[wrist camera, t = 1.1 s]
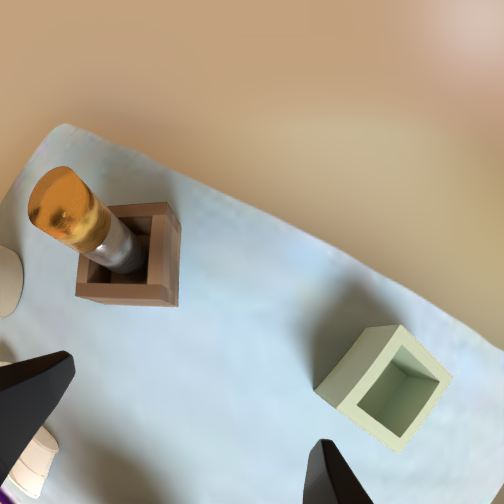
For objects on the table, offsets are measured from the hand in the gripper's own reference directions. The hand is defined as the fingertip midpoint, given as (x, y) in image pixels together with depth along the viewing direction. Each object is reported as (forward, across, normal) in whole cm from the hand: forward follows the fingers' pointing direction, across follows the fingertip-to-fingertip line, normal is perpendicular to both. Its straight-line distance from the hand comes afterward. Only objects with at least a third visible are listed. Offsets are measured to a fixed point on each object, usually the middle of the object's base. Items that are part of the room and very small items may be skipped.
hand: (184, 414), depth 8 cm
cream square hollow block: (+12, -12, +6) cm, 19 cm away
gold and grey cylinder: (+14, +9, +2) cm, 17 cm away
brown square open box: (+15, +9, +2) cm, 18 cm away
